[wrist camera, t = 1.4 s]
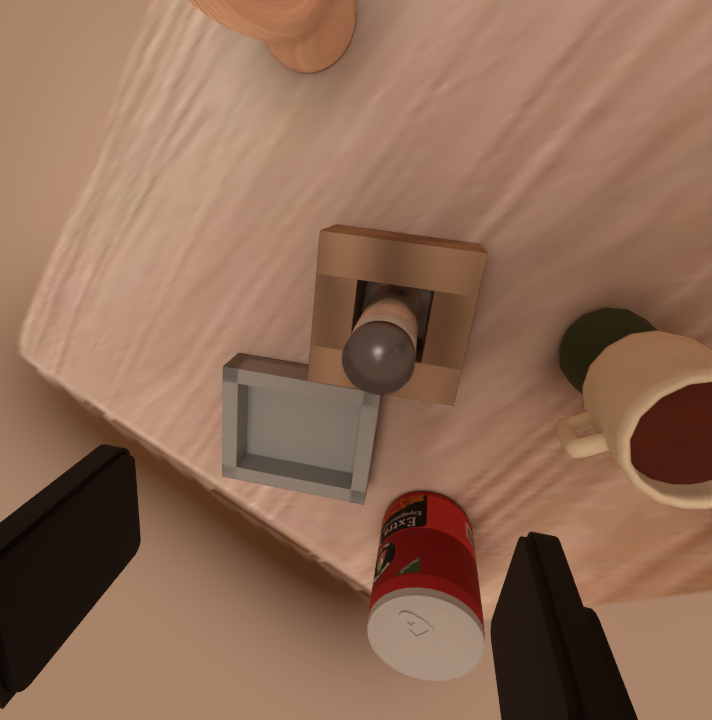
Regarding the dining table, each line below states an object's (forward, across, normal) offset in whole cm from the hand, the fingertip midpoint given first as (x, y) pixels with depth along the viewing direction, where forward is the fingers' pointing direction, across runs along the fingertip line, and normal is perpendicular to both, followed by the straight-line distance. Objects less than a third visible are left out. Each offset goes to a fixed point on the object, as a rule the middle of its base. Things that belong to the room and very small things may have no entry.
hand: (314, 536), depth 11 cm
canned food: (+24, -6, +20) cm, 32 cm away
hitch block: (+24, 0, 0) cm, 24 cm away
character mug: (+24, -15, +1) cm, 29 cm away
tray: (+24, +6, +11) cm, 27 cm away
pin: (+24, 0, 0) cm, 24 cm away
